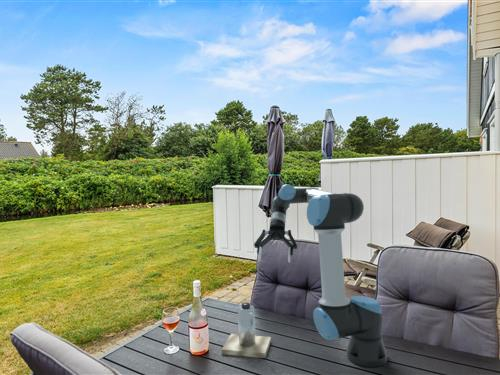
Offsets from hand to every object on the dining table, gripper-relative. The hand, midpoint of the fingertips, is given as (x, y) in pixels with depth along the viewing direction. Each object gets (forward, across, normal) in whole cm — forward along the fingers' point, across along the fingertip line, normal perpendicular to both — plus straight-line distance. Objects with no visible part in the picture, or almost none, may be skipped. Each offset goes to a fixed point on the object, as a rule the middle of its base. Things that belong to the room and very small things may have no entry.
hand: (273, 260), depth 155 cm
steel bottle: (+33, +10, -12) cm, 36 cm away
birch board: (+34, +10, -13) cm, 38 cm away
